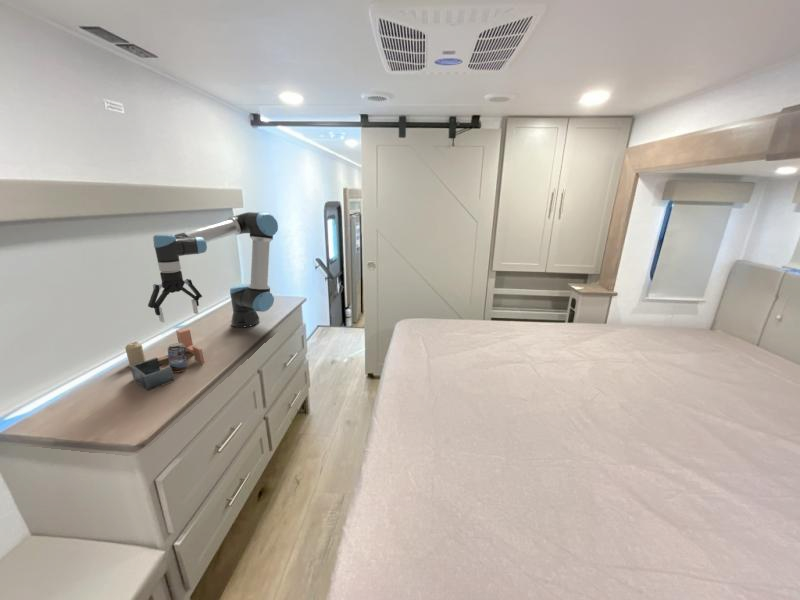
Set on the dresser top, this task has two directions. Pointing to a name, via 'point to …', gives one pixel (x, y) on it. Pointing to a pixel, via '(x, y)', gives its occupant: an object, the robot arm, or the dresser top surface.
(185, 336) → the kicker
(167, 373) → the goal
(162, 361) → the rail
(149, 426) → the dresser top surface
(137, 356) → the candle
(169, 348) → the beverage can
